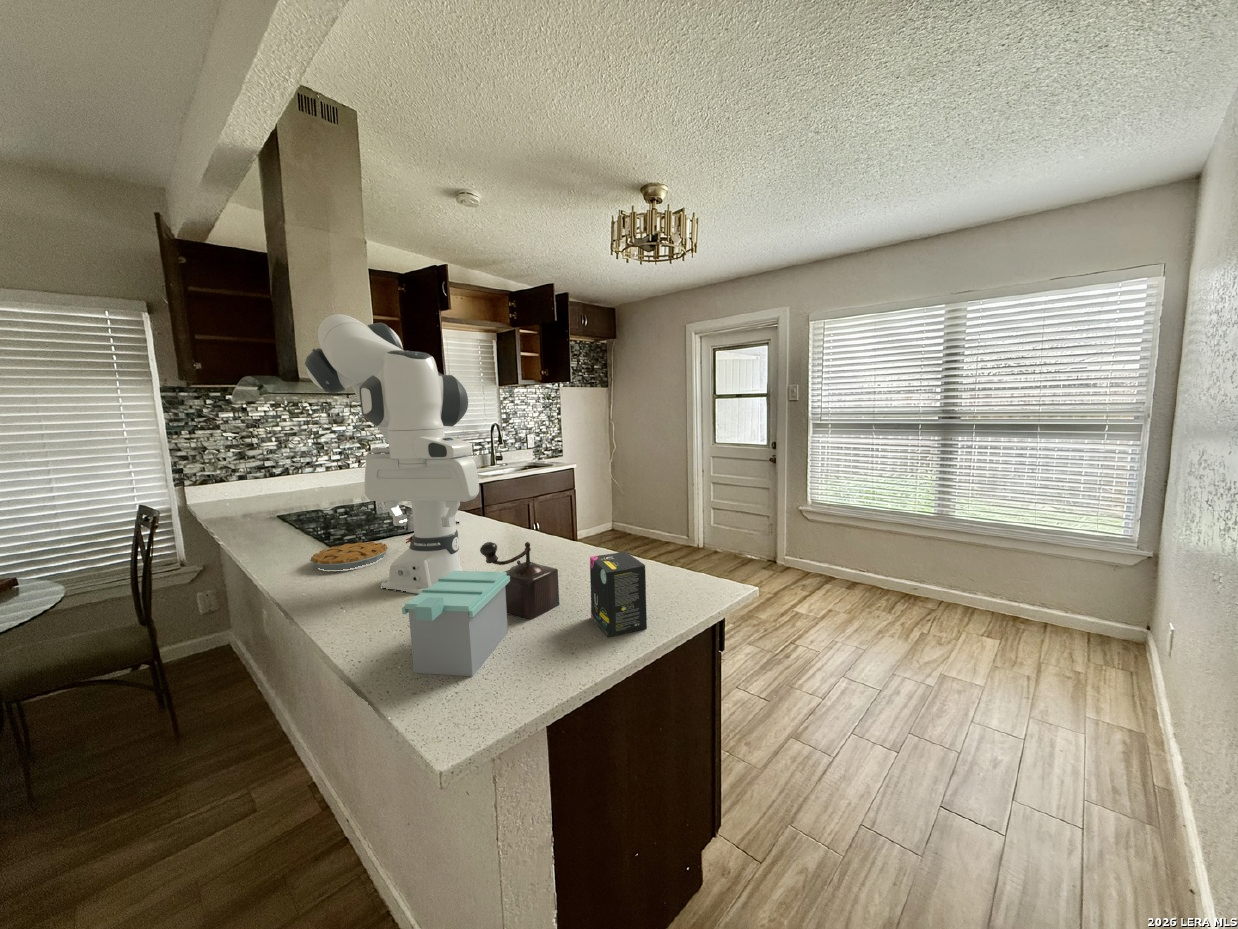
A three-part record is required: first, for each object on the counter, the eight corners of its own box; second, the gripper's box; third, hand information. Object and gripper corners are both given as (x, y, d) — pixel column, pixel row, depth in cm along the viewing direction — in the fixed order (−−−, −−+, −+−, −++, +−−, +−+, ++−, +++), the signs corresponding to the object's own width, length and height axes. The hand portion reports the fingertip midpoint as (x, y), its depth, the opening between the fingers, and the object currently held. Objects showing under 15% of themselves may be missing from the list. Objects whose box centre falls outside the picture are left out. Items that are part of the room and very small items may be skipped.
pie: (403, 554, 159) (401, 540, 159) (353, 576, 138) (351, 560, 137) (350, 551, 164) (349, 537, 164) (294, 572, 143) (292, 557, 143)
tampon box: (590, 617, 106) (588, 556, 104) (626, 610, 110) (625, 550, 108) (608, 638, 96) (605, 571, 94) (647, 629, 100) (646, 564, 98)
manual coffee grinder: (528, 595, 120) (525, 528, 118) (560, 604, 113) (557, 533, 111) (480, 618, 107) (475, 543, 105) (513, 630, 101) (508, 550, 99)
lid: (388, 624, 80) (386, 605, 79) (450, 579, 101) (449, 564, 100) (461, 627, 78) (460, 608, 77) (510, 581, 99) (509, 565, 98)
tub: (413, 672, 85) (408, 608, 84) (457, 630, 101) (453, 575, 100) (472, 676, 83) (468, 610, 82) (507, 632, 100) (504, 577, 98)
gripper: (351, 449, 78) (359, 529, 79) (461, 447, 73) (467, 531, 75) (378, 446, 84) (385, 520, 85) (480, 444, 79) (486, 522, 81)
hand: (424, 525), depth 80 cm, fingers open, 8 cm apart
